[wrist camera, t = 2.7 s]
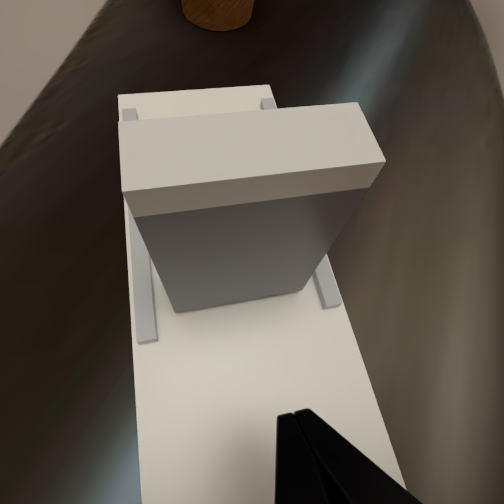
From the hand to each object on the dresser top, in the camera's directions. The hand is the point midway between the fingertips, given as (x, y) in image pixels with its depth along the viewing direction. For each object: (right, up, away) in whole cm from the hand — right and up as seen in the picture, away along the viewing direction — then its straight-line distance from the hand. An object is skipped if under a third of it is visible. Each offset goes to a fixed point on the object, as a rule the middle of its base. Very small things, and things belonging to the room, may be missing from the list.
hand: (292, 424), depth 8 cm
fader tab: (-2, +3, +8) cm, 8 cm away
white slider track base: (-2, +3, +11) cm, 12 cm away
